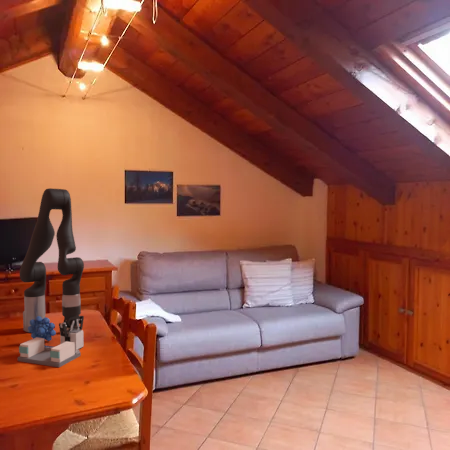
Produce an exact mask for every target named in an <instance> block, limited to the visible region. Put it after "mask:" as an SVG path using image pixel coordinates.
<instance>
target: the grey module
mask: <svg viewBox="0 0 450 450" xmlns="http://www.w3.org/2000/svg"><path fill="white" fill-rule="evenodd" d="M67 329H70V328H67ZM63 333H64V332H63ZM67 334H68V331H67ZM59 336H60V344H62V343H64V342H65V337H64V336H61V334H60V335H59ZM84 341H85V340H84V330H83V329H82V330H77V329H72V331H71V333H70V342H75V350H80V349H81V348H83V347H85V346H84V345H85V344H84Z"/></svg>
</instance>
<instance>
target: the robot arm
mask: <svg viewBox="0 0 450 450" xmlns="http://www.w3.org/2000/svg"><path fill="white" fill-rule="evenodd" d="M52 210H58V211H59V210H61V213H62V218H61V221H60V224H59V226H58V228H57V231H56V233H55V228H54V226H53V223H52V221H51V219H50V214H51V211H52ZM72 212H73V211H72V198H71V194H70V192H69V190H67V189H64V188H63V189H62V188H46V189H45V190H44V191H43V193H42V195H41V201H40V205H39V211H38V215H37V219H36V222H35V226H34V229H33V232H32V234H31V238H30V242H29V245H28V248H27V252H26V253H25V257H24V258H23V261H22V263H21V265H20V267H19V280H21V282H23V283H32V282H33V284H32V285H31V286H29V287H27V288H26V289H24V290H23V292H24V293H23V296H24V297H23V300H24V311H22V321H23V322H22V325H23V326H22V327H23V328H22V329H23V331H24V332H26V333H31V332H29V331H28V327H29V326H31V325H30V320H32V319H33V320H35V318H36V317H37V316H41V317H42V319H43V318H45V317H46V289H47V285H46V284H47V283H46V282H47V269H46V266H45V263H43V262H42V261H38V260H39V259H40V258H41V257H42V256H43V255H44V254H45V253H46V252H47V251H48V250H49V249H50V248H51V246H52V244H53V242H54V241H53V240H54V238H55V236H56V244H57V247H58V248H57V249H58V259H57V271H58V273H59V274H60V275H61V276H68V275H72V276H71V278H68V279H65V280H63V282H62V297H61V308H62V309H61V310H62V311H61V314H62V316H63V322H59V323H58V328H59V333H60V334H61V336H64V337H65V342H66V341H67V342H70V333H71V331H72V329H77V330H83V326H84V319H85V318H84V317H85V316H84V315H81V313H82V311H81V310H82V305H81V304H82V303H81V293H80V292H81V287H80V286H81V280H82V275H83V273H84V268H85V263H84V259H82V258H81V257H67V255H70V254H74V253H75V252H76V250H77V245H76V243H75V242H76V241H75V237H74V232H73V217H72V216H73V215H72V214H73V213H72ZM55 234H56V235H55ZM35 321H36V320H35ZM67 328H70V329H67ZM67 331H68V334H67ZM63 332H64V333H63Z"/></svg>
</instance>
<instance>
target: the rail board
mask: <svg viewBox="0 0 450 450" xmlns="http://www.w3.org/2000/svg"><path fill="white" fill-rule="evenodd" d="M18 353H19V354H20V355H19V356H17V362H23V363H28V364H35V365H43V366H48V367H56V368H61V367H63V366H64V365H66V364H69V363H70V362H71V361H74V360H76V359H77V358H79V357H81V350H80V349H78V350H75V342H67V341H66V342H64V343H62V344H61V343H59V344H58V345H56V346H52V345H47V344H46V345H45V341H44V338H37V337H36V338H34V339H33V338H32V339H29V340H27V341H24V342H22V343H20V344H19V346H18Z"/></svg>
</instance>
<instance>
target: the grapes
mask: <svg viewBox="0 0 450 450" xmlns="http://www.w3.org/2000/svg"><path fill="white" fill-rule="evenodd" d="M35 320H36V321H35ZM35 320H33V319H32V320H30V325H31V326H29V327H28V331H29V332H31V334H30V337H31V338H32V339H34V338H36V337H37V338H44V342H45V341H47V342H50V341H52V340H53V337H55V336H56V333H57V332H56V330H55V329H56V324H55V323H54V322H51V320H50V318H49V317H46V316H45V318H43V319H42V317H41V316H37V317H36V318H35ZM29 332H28V333H29Z"/></svg>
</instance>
